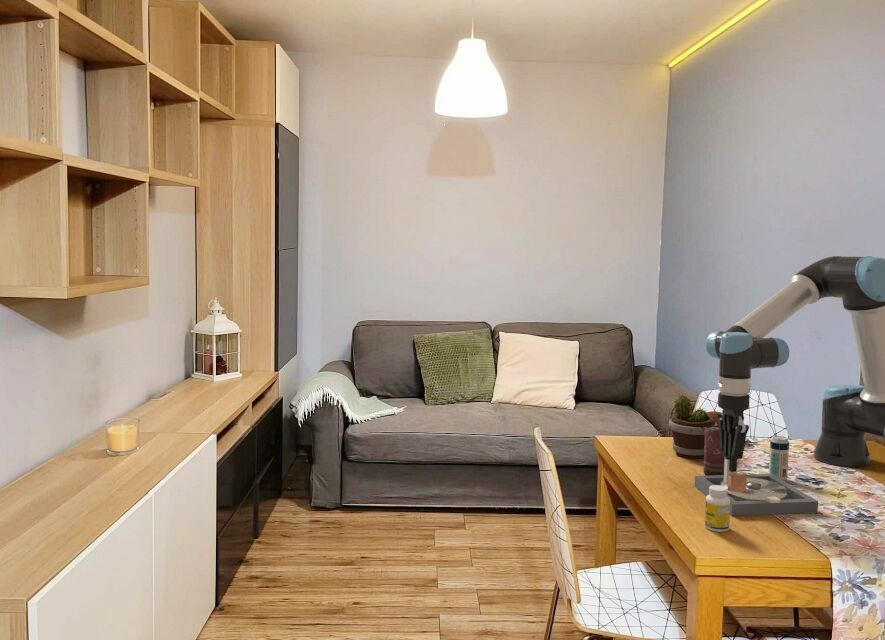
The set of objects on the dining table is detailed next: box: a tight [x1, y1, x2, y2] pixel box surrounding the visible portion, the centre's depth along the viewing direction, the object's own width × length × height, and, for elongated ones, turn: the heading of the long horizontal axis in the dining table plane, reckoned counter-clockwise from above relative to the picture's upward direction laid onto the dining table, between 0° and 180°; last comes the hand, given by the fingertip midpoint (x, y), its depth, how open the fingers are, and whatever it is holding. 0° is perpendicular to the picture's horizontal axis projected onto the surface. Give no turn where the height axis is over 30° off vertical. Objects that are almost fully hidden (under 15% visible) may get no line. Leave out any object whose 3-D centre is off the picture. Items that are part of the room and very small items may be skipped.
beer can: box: [768, 435, 790, 482], centre depth 210 cm, size 5×5×12 cm
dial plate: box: [694, 473, 819, 517], centre depth 194 cm, size 22×22×4 cm
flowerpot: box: [668, 392, 718, 459], centre depth 234 cm, size 14×15×20 cm
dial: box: [721, 472, 787, 501], centre depth 194 cm, size 16×16×6 cm
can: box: [703, 426, 725, 476], centre depth 214 cm, size 6×6×14 cm
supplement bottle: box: [704, 485, 731, 533], centre depth 175 cm, size 5×5×10 cm
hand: (729, 482), depth 193 cm, fingers closed
